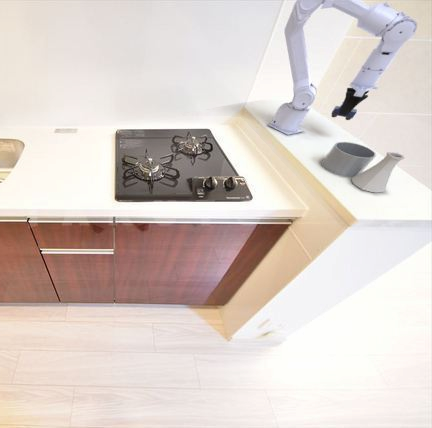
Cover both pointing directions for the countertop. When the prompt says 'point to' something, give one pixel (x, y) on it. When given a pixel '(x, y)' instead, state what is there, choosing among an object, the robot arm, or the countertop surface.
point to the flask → (378, 174)
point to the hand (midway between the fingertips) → (342, 113)
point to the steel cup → (348, 159)
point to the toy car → (348, 116)
